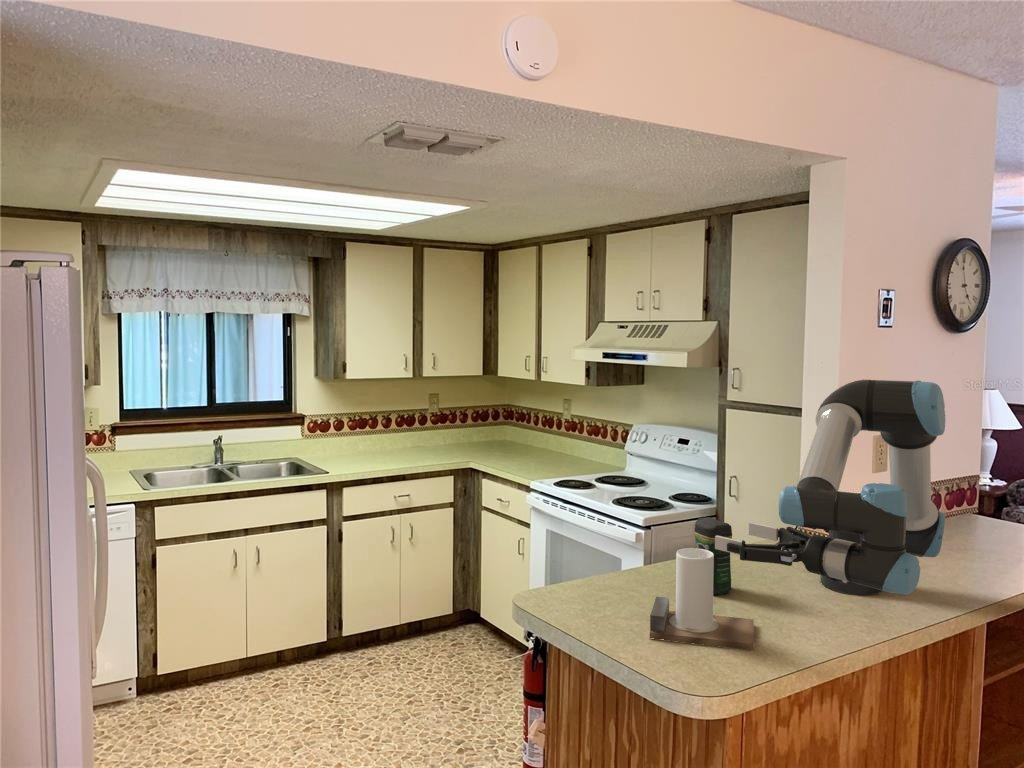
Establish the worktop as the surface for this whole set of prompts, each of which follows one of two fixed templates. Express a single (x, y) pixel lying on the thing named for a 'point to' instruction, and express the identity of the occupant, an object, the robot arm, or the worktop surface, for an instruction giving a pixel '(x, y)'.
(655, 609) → the board
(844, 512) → the robot arm
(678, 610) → the cup
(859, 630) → the worktop surface
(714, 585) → the coffee jar
